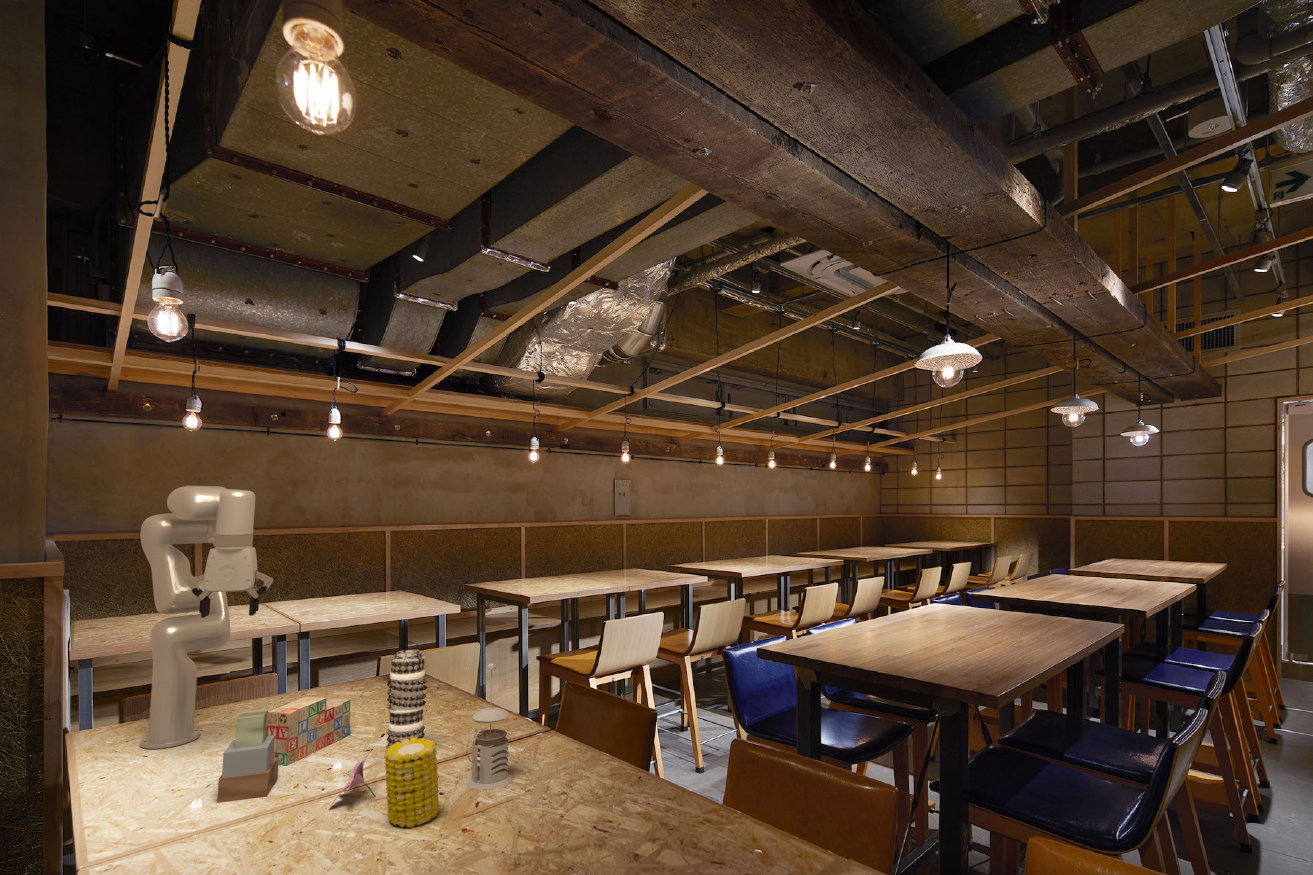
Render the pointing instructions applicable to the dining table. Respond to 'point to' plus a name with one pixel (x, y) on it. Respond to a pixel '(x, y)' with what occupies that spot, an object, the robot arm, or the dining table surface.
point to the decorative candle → (406, 696)
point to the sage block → (251, 728)
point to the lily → (356, 777)
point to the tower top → (248, 759)
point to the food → (411, 782)
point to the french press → (489, 750)
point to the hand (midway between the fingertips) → (229, 615)
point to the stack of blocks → (307, 727)
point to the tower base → (248, 785)
